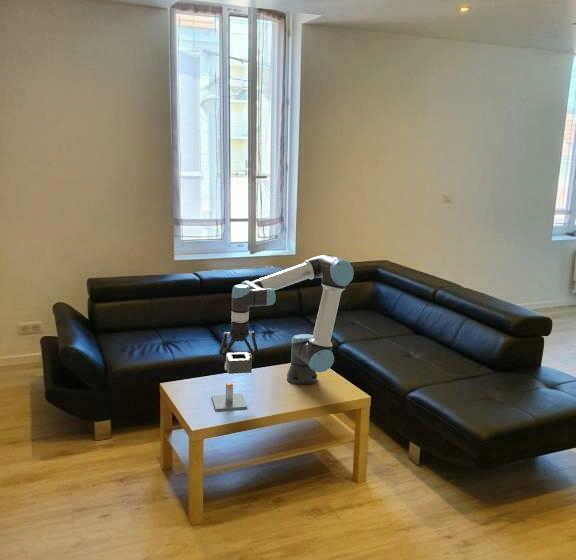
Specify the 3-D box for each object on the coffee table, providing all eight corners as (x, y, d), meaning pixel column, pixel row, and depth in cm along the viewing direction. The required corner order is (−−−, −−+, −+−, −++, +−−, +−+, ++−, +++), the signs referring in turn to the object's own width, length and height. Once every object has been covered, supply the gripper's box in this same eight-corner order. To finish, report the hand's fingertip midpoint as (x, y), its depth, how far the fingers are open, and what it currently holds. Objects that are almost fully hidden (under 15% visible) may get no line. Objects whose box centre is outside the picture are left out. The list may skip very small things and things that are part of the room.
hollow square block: (246, 364, 262) (247, 352, 261) (251, 372, 253) (252, 359, 251) (225, 365, 259) (225, 352, 258) (228, 373, 250) (229, 360, 249)
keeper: (241, 395, 268) (242, 377, 266) (247, 408, 255) (247, 389, 253) (211, 397, 264) (211, 379, 262) (215, 411, 251) (215, 391, 249)
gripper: (263, 317, 258) (260, 364, 262) (212, 318, 252) (211, 366, 256) (267, 322, 251) (264, 370, 255) (215, 323, 245) (213, 373, 249)
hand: (238, 368), depth 256 cm, fingers closed on hollow square block, 10 cm apart
